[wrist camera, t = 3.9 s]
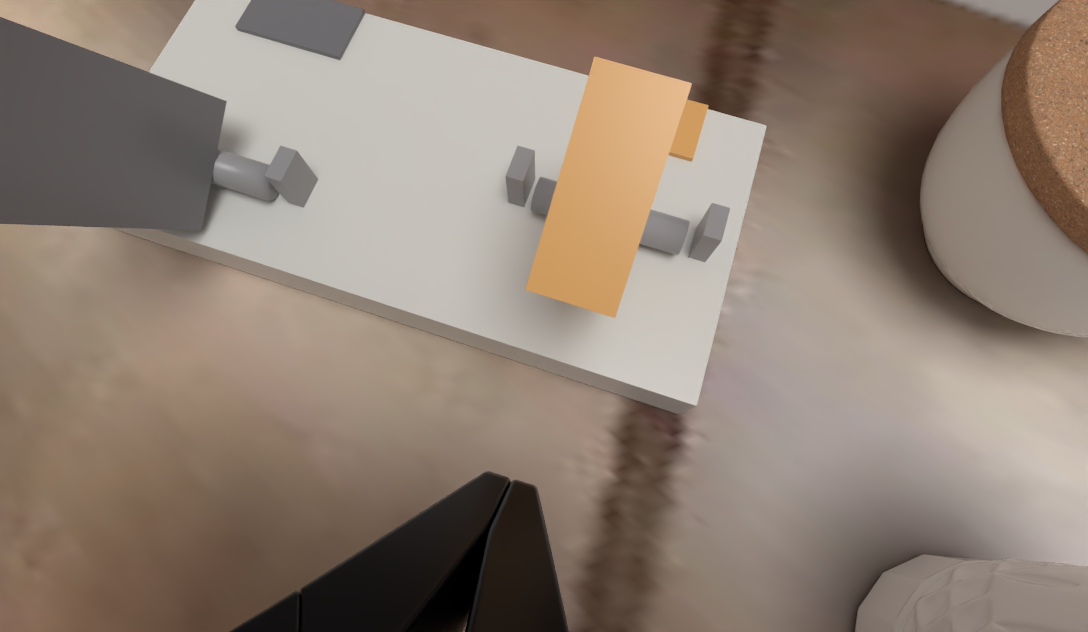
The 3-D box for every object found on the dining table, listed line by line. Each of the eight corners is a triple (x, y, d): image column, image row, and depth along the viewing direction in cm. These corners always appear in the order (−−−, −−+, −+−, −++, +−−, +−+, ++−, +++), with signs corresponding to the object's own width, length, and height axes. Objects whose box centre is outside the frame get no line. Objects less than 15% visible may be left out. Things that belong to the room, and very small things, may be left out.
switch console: (678, 414, 20) (714, 398, 16) (116, 229, 22) (19, 172, 18) (743, 161, 23) (787, 93, 19) (244, 18, 25) (186, -72, 21)
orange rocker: (660, 298, 19) (702, 345, 10) (521, 255, 20) (442, 263, 11) (702, 175, 19) (786, 109, 10) (556, 133, 19) (504, 31, 10)
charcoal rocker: (268, 245, 20) (-25, 245, 11) (140, 203, 20) (-246, 169, 11) (294, 123, 19) (5, 12, 10) (161, 83, 19) (-232, -58, 10)
